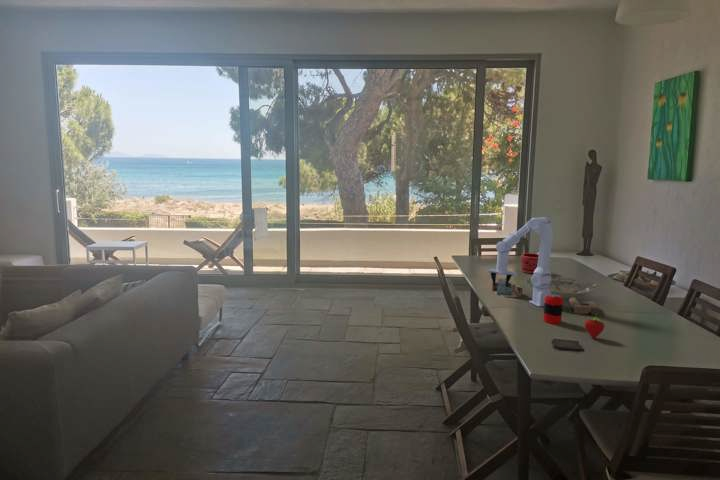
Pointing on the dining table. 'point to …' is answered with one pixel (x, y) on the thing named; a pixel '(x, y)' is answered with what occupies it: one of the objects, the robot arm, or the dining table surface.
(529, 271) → the plant pot
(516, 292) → the corner fence
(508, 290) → the bracket
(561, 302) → the soda can
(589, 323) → the strawberry
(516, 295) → the pose pad
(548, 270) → the robot arm
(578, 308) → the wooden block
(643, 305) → the dining table surface
